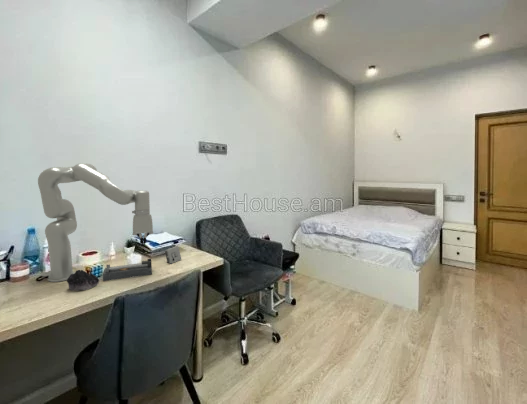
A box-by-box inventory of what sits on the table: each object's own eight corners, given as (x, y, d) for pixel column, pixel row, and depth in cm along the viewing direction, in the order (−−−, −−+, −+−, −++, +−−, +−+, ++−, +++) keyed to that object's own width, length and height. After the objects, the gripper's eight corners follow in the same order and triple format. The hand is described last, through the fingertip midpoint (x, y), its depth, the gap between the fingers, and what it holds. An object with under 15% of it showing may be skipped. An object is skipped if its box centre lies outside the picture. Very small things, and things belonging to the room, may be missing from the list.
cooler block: (103, 281, 143) (102, 268, 142) (105, 275, 151) (104, 263, 150) (151, 274, 152) (151, 262, 151) (151, 269, 160) (151, 257, 160)
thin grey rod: (106, 271, 145) (105, 267, 145) (106, 269, 148) (106, 265, 148) (149, 265, 154) (149, 261, 154) (149, 263, 157) (149, 260, 157)
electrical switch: (170, 264, 169) (169, 249, 168) (164, 263, 172) (163, 249, 171) (181, 260, 177) (180, 246, 177) (176, 259, 180) (174, 245, 179)
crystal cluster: (96, 280, 146) (93, 262, 145) (102, 285, 136) (99, 266, 135) (66, 289, 137) (62, 270, 136) (70, 296, 127) (66, 275, 126)
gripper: (127, 214, 145) (128, 247, 147) (157, 213, 151) (157, 245, 153) (127, 212, 151) (129, 244, 153) (156, 211, 157) (157, 241, 159)
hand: (143, 244), depth 153 cm, fingers closed
